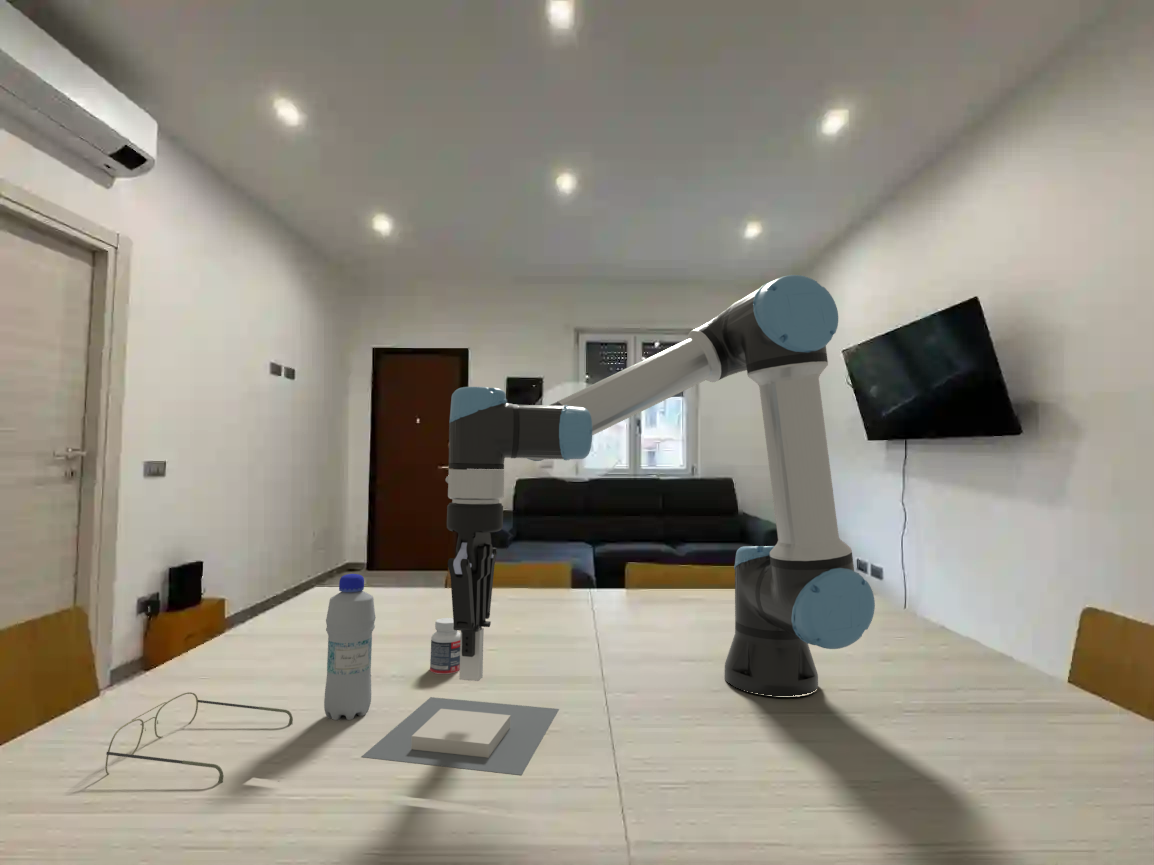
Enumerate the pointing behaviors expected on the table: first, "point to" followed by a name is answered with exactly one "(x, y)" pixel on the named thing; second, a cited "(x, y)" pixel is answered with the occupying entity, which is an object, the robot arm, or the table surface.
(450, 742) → the tile
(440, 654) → the pill bottle
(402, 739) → the mat
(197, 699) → the eyeglasses
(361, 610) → the bottle
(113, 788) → the table surface
